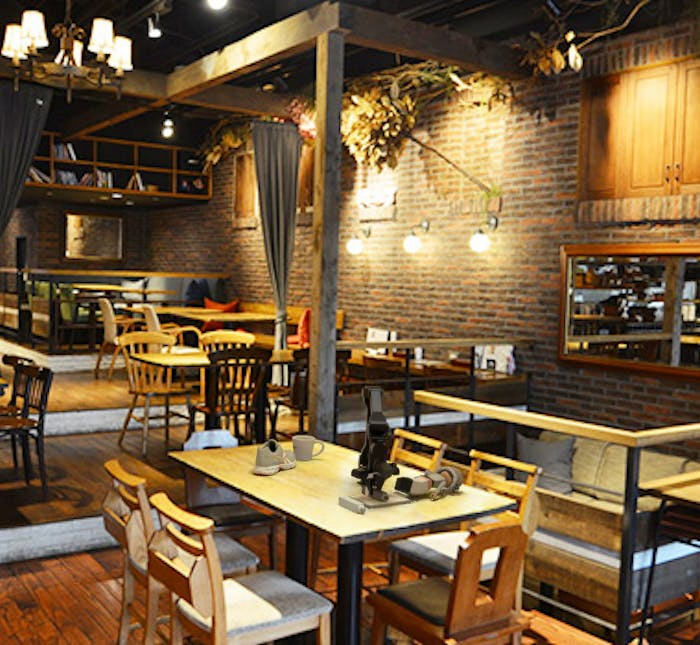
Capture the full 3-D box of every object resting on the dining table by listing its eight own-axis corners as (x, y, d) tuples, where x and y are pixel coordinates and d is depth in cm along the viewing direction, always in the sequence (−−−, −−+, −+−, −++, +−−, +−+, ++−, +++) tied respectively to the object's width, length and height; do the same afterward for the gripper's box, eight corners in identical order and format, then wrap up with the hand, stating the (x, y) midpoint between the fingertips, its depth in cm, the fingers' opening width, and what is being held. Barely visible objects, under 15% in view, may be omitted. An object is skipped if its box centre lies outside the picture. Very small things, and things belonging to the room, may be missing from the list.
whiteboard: (369, 508, 290) (369, 503, 290) (346, 498, 303) (346, 493, 302) (413, 502, 301) (414, 498, 301) (389, 493, 314) (390, 488, 313)
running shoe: (302, 464, 357) (303, 433, 356) (274, 478, 329) (275, 445, 328) (279, 461, 360) (280, 431, 360) (249, 475, 332) (250, 442, 332)
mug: (292, 456, 372) (293, 434, 371) (324, 458, 371) (325, 436, 371) (289, 461, 361) (290, 439, 361) (323, 463, 361) (324, 440, 360)
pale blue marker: (338, 504, 294) (338, 496, 294) (345, 503, 296) (345, 495, 296) (360, 515, 282) (360, 506, 282) (367, 514, 284) (367, 505, 284)
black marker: (361, 493, 306) (361, 485, 306) (368, 492, 308) (368, 484, 308) (383, 502, 294) (384, 494, 294) (390, 502, 296) (391, 493, 296)
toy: (414, 506, 298) (469, 499, 318) (419, 477, 297) (474, 471, 316) (388, 493, 310) (443, 487, 329) (393, 465, 308) (448, 460, 328)
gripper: (368, 459, 289) (366, 502, 290) (409, 455, 300) (407, 497, 300) (351, 453, 298) (349, 495, 299) (391, 449, 309) (389, 490, 310)
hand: (374, 494), depth 302 cm, fingers closed on black marker, 3 cm apart
